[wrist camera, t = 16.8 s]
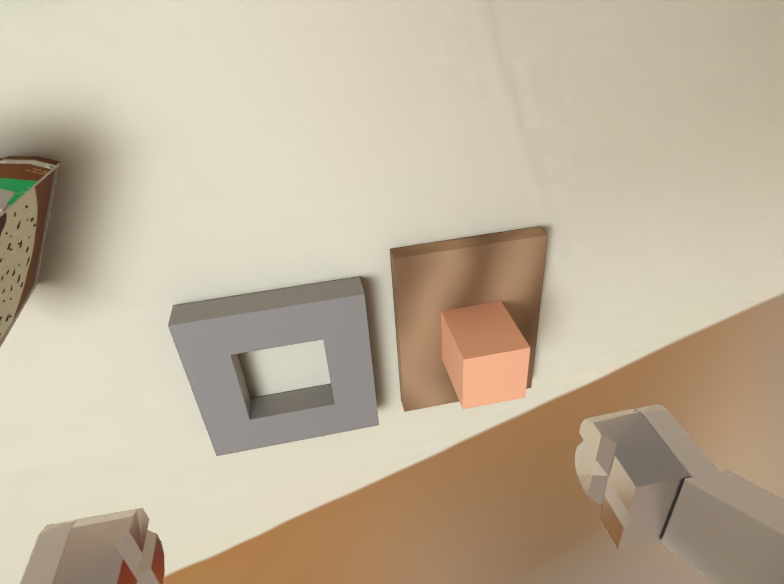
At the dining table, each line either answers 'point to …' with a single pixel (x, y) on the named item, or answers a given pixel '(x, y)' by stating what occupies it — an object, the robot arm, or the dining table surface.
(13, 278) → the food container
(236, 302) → the pocket plate
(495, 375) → the terracotta block
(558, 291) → the dining table surface
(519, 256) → the walnut board
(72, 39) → the dining table surface
